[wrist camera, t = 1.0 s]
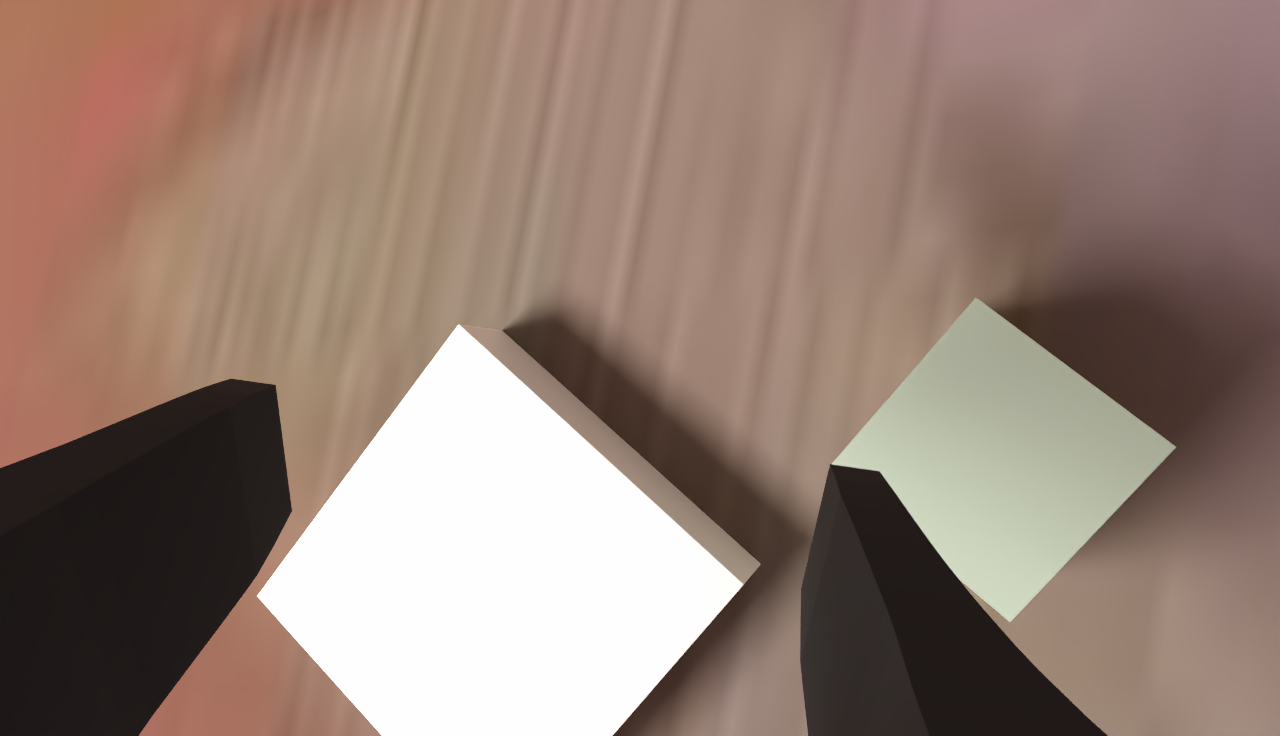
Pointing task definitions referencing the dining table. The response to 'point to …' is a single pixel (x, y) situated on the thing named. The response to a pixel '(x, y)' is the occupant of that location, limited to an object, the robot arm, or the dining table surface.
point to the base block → (502, 560)
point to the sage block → (1004, 456)
